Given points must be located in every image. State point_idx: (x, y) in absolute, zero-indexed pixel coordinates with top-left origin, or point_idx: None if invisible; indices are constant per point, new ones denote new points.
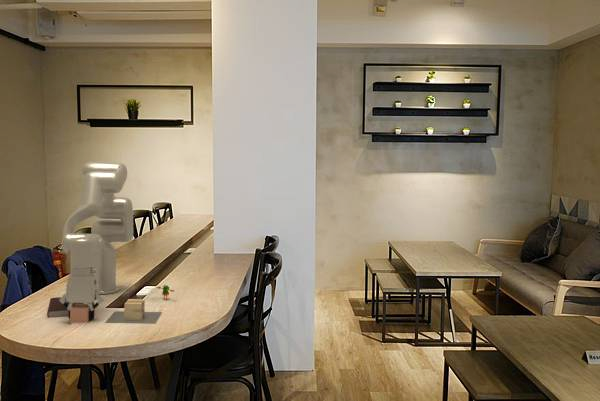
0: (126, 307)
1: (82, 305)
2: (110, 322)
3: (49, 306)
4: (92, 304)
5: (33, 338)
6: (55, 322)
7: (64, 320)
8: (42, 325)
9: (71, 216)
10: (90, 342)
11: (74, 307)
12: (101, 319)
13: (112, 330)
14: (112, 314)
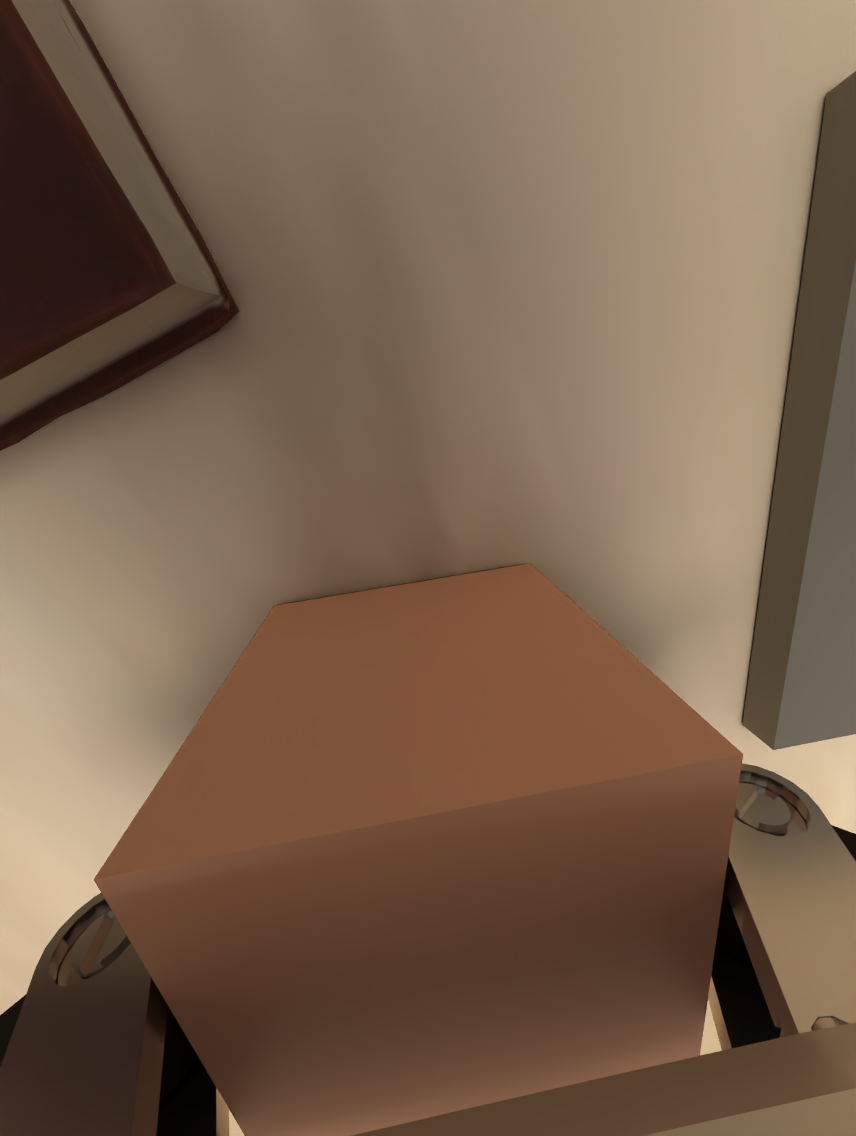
0: None
1: (464, 961)
2: (845, 723)
3: None
4: (808, 937)
5: (231, 1114)
6: (71, 768)
7: (128, 669)
8: (7, 890)
9: None
10: (704, 1048)
11: (337, 1124)
12: (650, 505)
13: (841, 824)
14: (852, 333)
